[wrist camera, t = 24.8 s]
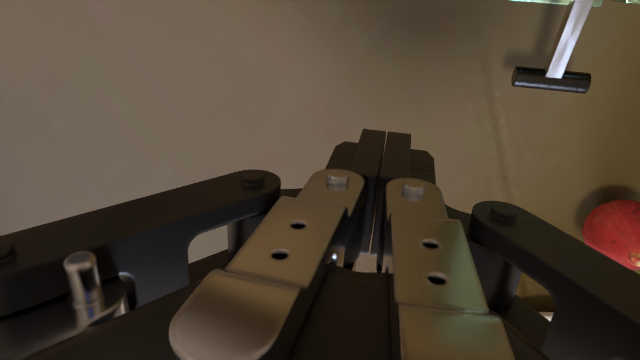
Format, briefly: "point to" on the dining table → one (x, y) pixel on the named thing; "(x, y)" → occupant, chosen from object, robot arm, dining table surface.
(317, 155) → the dining table surface
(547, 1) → the lever housing
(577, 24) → the lever
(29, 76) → the dining table surface
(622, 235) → the red rounded lump
